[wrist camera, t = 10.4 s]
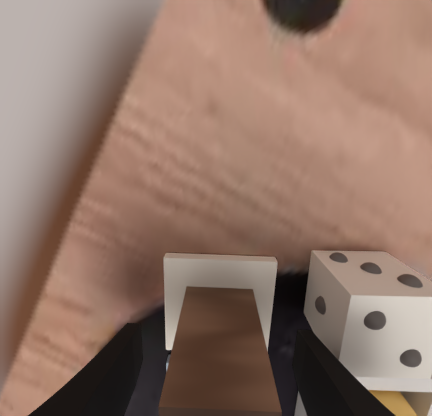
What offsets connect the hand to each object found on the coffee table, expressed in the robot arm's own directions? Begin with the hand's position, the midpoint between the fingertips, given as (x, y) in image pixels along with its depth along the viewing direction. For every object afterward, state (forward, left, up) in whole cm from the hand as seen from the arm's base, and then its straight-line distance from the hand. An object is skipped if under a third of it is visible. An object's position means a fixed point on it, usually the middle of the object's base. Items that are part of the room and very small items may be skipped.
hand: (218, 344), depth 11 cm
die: (-7, -2, -3) cm, 8 cm away
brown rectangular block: (0, 0, -2) cm, 2 cm away
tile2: (0, 0, -3) cm, 3 cm away
